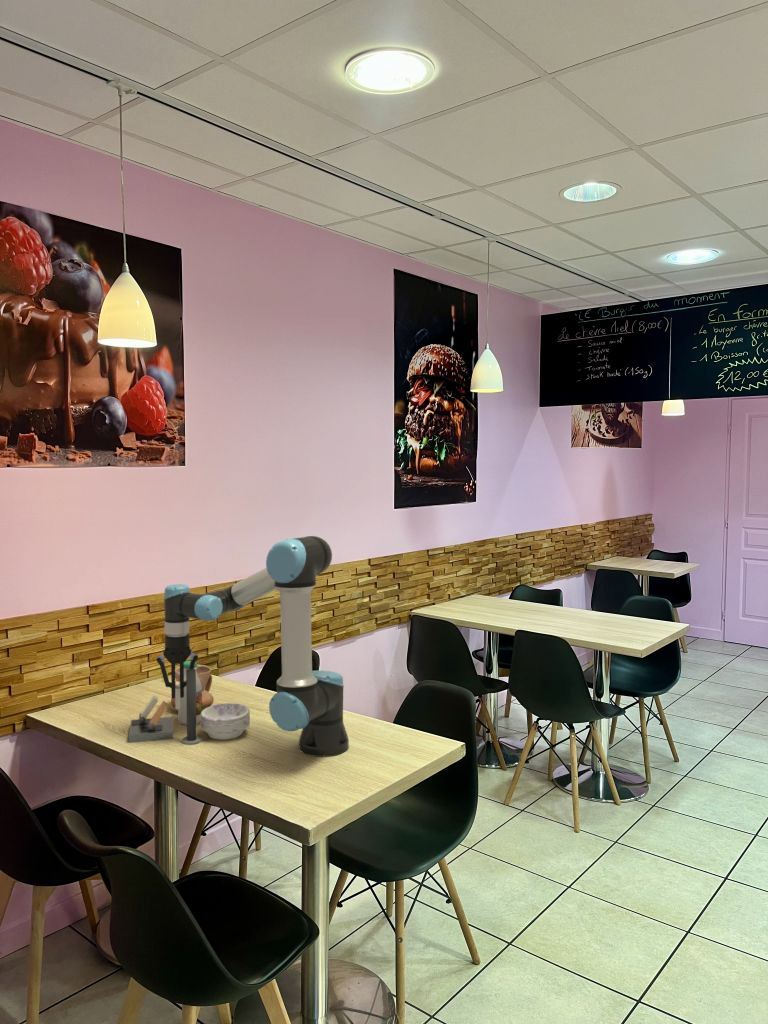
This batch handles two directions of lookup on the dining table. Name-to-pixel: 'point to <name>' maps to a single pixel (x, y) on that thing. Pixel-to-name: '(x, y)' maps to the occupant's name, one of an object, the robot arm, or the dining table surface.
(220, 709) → the paper bowls
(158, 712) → the orange rounded bar
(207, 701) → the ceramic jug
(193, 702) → the post
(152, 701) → the paddle
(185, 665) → the milk bottle
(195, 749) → the dining table surface
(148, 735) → the panel
